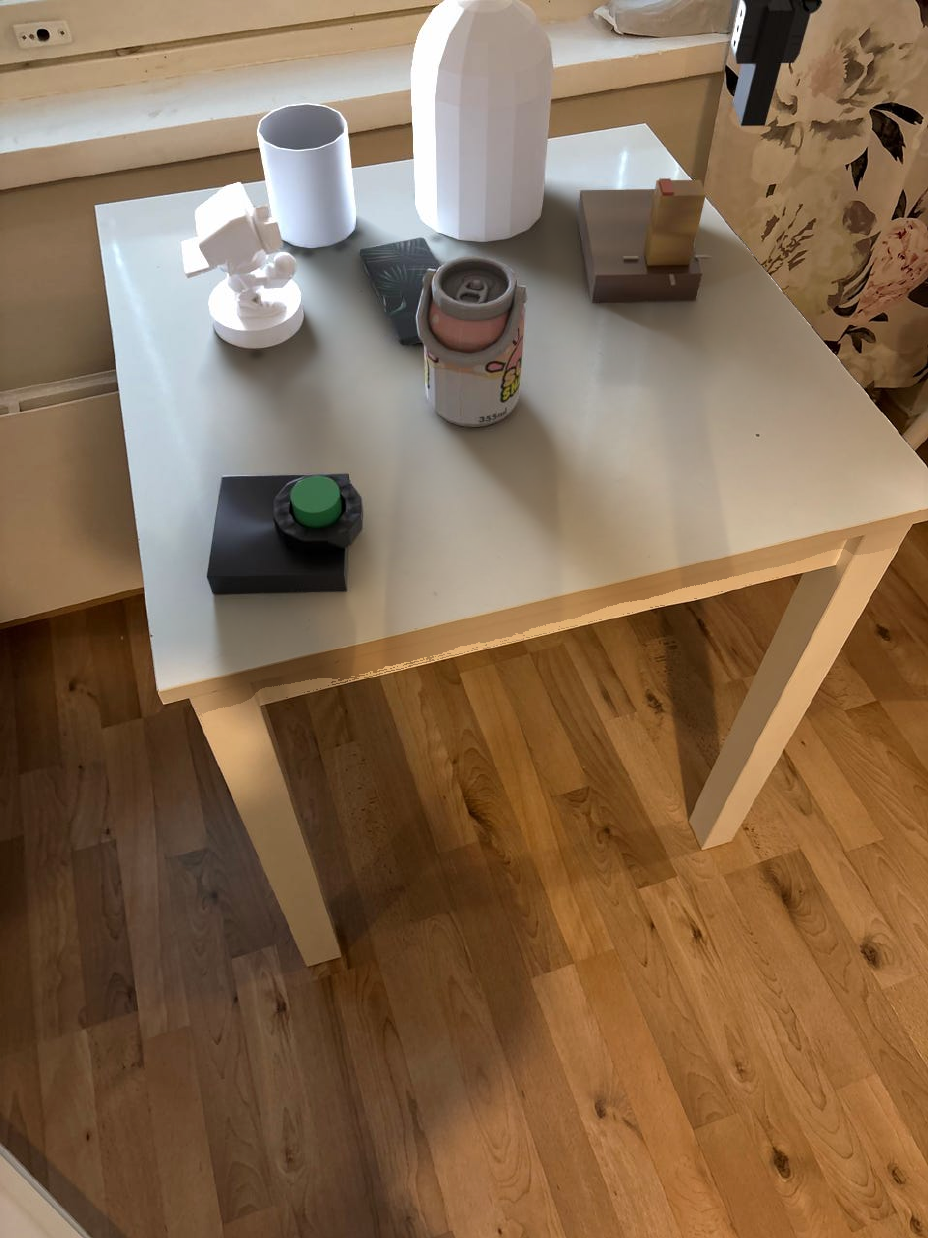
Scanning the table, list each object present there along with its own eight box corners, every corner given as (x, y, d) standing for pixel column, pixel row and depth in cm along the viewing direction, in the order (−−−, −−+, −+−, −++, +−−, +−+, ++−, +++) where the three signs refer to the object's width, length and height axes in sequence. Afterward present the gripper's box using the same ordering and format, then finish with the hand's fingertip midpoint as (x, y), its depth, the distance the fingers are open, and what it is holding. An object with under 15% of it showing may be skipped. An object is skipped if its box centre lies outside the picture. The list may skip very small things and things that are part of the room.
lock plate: (710, 311, 90) (717, 282, 87) (593, 313, 90) (597, 284, 87) (683, 215, 99) (689, 186, 96) (577, 216, 98) (580, 188, 96)
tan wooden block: (685, 249, 90) (701, 176, 84) (689, 265, 89) (706, 192, 83) (643, 249, 90) (656, 177, 84) (647, 265, 89) (660, 193, 83)
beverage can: (504, 450, 79) (511, 333, 69) (408, 430, 81) (401, 312, 71) (530, 377, 84) (540, 259, 75) (439, 359, 86) (437, 241, 76)
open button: (341, 527, 70) (338, 512, 68) (292, 528, 70) (288, 513, 68) (343, 491, 72) (340, 475, 70) (295, 492, 72) (292, 476, 70)
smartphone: (423, 235, 95) (472, 325, 86) (424, 244, 96) (472, 334, 87) (357, 248, 93) (400, 341, 85) (358, 257, 94) (400, 350, 86)
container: (567, 221, 98) (589, 9, 81) (450, 256, 94) (448, 41, 78) (506, 157, 105) (515, -52, 88) (395, 186, 101) (383, -24, 85)
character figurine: (309, 340, 87) (290, 221, 77) (205, 356, 86) (172, 236, 76) (297, 282, 92) (277, 163, 82) (198, 296, 91) (166, 176, 81)
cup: (352, 248, 95) (342, 151, 87) (270, 247, 95) (252, 150, 87) (358, 200, 100) (349, 103, 92) (280, 199, 100) (264, 102, 92)
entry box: (363, 591, 71) (359, 558, 68) (212, 594, 71) (200, 561, 67) (367, 491, 77) (363, 456, 73) (227, 494, 76) (216, 459, 73)
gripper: (1010, -464, 42) (836, 82, 62) (719, -465, 42) (636, 85, 61) (1077, -431, 38) (867, 145, 57) (754, -431, 38) (653, 148, 57)
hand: (748, 113), depth 59 cm, fingers closed
